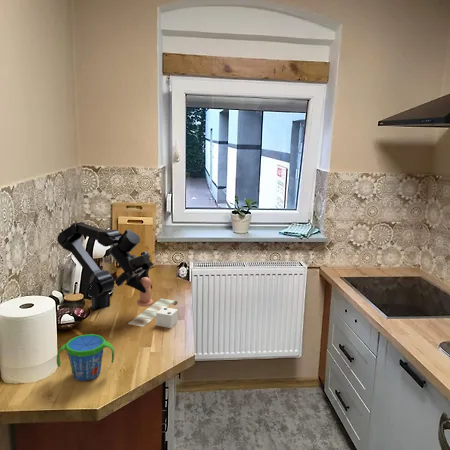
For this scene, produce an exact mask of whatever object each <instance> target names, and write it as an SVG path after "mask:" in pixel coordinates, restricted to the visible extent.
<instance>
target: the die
mask: <svg viewBox="0 0 450 450" xmlns="http://www.w3.org/2000/svg"><path fill="white" fill-rule="evenodd" d="M178 315H179V309H177V308H171V307H167V308H166V307H163V308H162V309H160V310H159V311H158V312H157V313H156V317H155V326H156V327H162V328H168V329H172V328H173V327H174V326H175V325H176V324H177V323H178V321H179V319H178V317H179V316H178Z"/></svg>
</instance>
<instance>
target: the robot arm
mask: <svg viewBox="0 0 450 450" xmlns="http://www.w3.org/2000/svg"><path fill="white" fill-rule="evenodd" d="M83 236H85V237H88V238H91V239H94V240H96V241H97V243H98V244H100V246H103V247H109V248H107V249H106V257H110V256H112V257H113V259H114V260H115V262H116V263H117V264H118V265H116V266H117V268H118V269H120V268H121V269H122V270H123V272H121V273H120V274H119V275H118V276H117V277H116V278H115V279H114V275H113V276H112V274H111V272H110V271H109V270H107V269H105V270H102V269H100V267H99V266H98V265H97V263H96V262H95V261H94V259H93V258H92V257H91V256H90V254H89V252H87V251H86V249H85V247H84V246H83V244H82V237H83ZM56 240H57V242H58V244H59V245H60V246H61V247H62V248H63V249H64V250H66V251H68V252H70V253H71V254H72V256H73V257H74V258H75V259H76V260H77V262H78V264H79V265H80V266H81V267H82V269H83V270H84V271H85V273H86V274H87V276H88V277H89V285H90V287H89V288H88V289H87V291H86V292H87V296H88V297H90V298H91V300H90V301H91V306H89V309H91V310H92V311H94V312H95V311H99V310H103V309H106V308H110V306H111V296H110V294H111V293H113V290H114V287H115V285H116V286H117V287H120V286H122V285H125V286H129V287H131V288H132V289H135V290H137V291H139V292H140V291H141V292H143V293H145V292H146V290H145V288H144V286H143V285H142V283H141V282H140V280H141V279H142V278H143V277H148V278H149V279H150V277H149V273H150V269H151V268H152V267H153V266H154V263H153V262H152V261H151V260H150V259H151V254H150V253H149V252H148V251H147V250H145V251H142V252H140V255H138V256H136V255H135V254H131V253H130V252H131V251H133V250H134V249H135V248H136V247H137V246H138V244H139V243H140V242H141V237H140V236H139V235H138V234H137V233H136V232H134V231H132V230H131V229H129V228H128V229H125V230H124V231H123V233H121V232H120V231H119V230H117V229H112V228H111V229H104V228H100V227H96V226H93V225H92V224H91V225H90V224H87V223H85V222H83V221H80V222H74V223H72V224H71V225H70V226H69V227H67V228H66V229H64V230H62V231H61V232H59V233H58V235H57V237H56ZM110 246H112V247H110ZM124 282H125V284H124ZM152 289H153V285H152V284H151V290H152Z"/></svg>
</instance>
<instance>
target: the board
mask: <svg viewBox="0 0 450 450" xmlns="http://www.w3.org/2000/svg"><path fill="white" fill-rule="evenodd" d="M177 304H178V301H177V300H173V299H166V298H160V297H159V298H158V300H157V301H155V302H153V304H152V305H151V306H148V308H146V309H145V310H144V311H142V312H141V313H139V314H138V315H137V316H135V317H134V318H133V319H132V320H130V321H129V322H128V323H127V325H131V326H132V325H133V326H137V327H142V328H144V327H145V326H146V325H147V324H149V323H150V322H151V321H152V320H154V319H156V313H157V312H158V311H159V310H160V309H162V308H163V307H166V308H168V307H169V306H170V305H172V306H177Z"/></svg>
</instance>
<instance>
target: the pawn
mask: <svg viewBox="0 0 450 450" xmlns="http://www.w3.org/2000/svg"><path fill="white" fill-rule="evenodd" d="M140 282H141V283H142V285H143V286H144V288H145V290H146V292H145V293H143V292H141V291H139V299H137V300H136V305H138V306H139V307H146V308H147V307H150V306H152V305H153V304H154V300H153V299H152V298H151V290H152V289H151V285H152V280H151V279H150V277H149V278H148V277H143V278H142V279H141V280H140Z"/></svg>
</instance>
